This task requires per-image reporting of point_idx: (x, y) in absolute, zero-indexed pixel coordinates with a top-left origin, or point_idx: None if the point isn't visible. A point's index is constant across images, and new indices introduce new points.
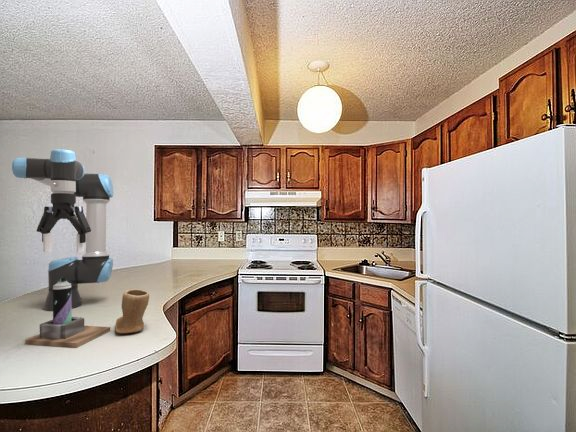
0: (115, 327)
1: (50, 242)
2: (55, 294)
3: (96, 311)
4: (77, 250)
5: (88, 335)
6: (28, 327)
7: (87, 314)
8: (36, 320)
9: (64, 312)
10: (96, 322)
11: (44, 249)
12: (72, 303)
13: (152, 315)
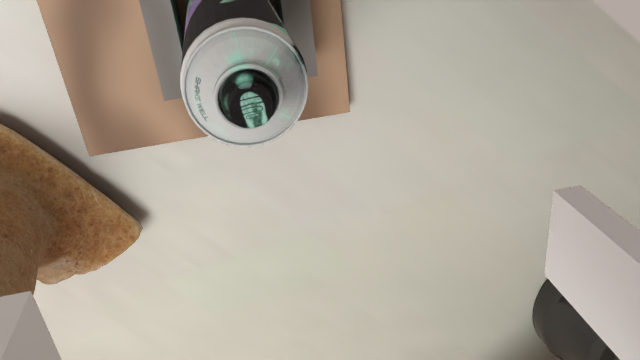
0: (39, 151)
1: (624, 344)
2: (234, 10)
3: (404, 304)
4: (2, 316)
5: (72, 31)
6: (516, 62)
7: (408, 266)
8: (561, 139)
9: (188, 16)
10: (272, 208)
11: (583, 204)
12: (550, 308)
13: (108, 354)
